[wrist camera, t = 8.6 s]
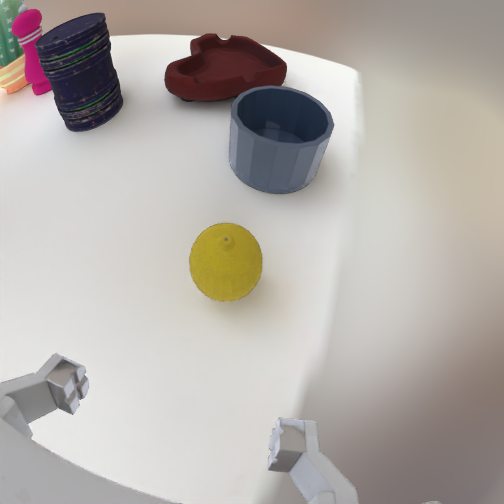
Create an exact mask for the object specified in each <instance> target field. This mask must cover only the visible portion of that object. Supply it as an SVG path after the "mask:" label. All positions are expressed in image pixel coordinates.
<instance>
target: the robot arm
mask: <svg viewBox="0 0 504 504" xmlns="http://www.w3.org/2000/svg"><path fill="white" fill-rule="evenodd" d="M85 373H86V369H85V366H83V365H80V364H78V363H76V362H74V361H72V360H70V359H68V358H66V357H64V356H61V355H59V354H57V353H56V354H53V355H52V356H51V357H50V359H49V360H48V361H47V362H46V363H45V364H44V365H43V366H42V367H41V368H40V370H39V371H38V372H37V373H36V374H35V373H31V374H28V375H25V376H21V377H18V378H15V379H12V380H8V381H5V382H1V383H0V504H182V503H178V502H174V501H170V500H166V499H163V498H160V497H156V496H153V495H150V494H147V493H144V492H141V491H138V490H135V489H132V488H129V487H126V486H124V485H121V484H118V483H116V482H113V481H111V480H109V479H106V478H104V477H101V476H99V475H97V474H95V473H92V472H90V471H88V470H86V469H84V468H82V467H80V466H78V465H76V464H74V463H72V462H70V461H68V460H66V459H64V458H62V457H61V456H59V455H57V454H55V453H53V452H52V451H50V450H48V449H46V448H45V447H43V446H41V445H40V444H38V443H37V442H35V441H33V440H32V439H30V438H31V437H32V435H33V433H32V431H31V429H30V427H29V426H28V423H30V422H32V421H34V420H36V419H38V418H40V417H42V416H44V415H46V414H48V413H50V412H52V411H54V410H56V409H57V408H59V409H61V410H63V411H66V412H68V413H70V414H72V415H73V414H74V413H75V411H76V410H77V408H78V407H79V405H80V404H79V400H81V399H83V398H85V396H86V394H87V392H88V389H89V381H88V379H87V377H86V376H85ZM269 450H270V451H271V453H270V455H269V457H268V470H269V471H277V472H287V473H289V475H290V477H291V478H292V480H293V481H294V483H295V485H296V486H297V488H298V489H299V491H300V492H301V494H302V495H303V497H304V498H305V500H306V501H307V504H359V502H358V495H357V489H356V488H355V487H354V486H353V485H352V484H351V483H350V482H349V481H348V480H347V479H346V478H345V476H344V475H343V474H342V473H341V472H340V471H339V470H338V469H337V468H336V466H335V465H334V464H333V463H332V462H331V461H330V460H329V459H328V458H327V456H326V455H325V454H324V453H320V447H319V437H318V429H317V423H316V422H315V421H308V420H299V419H289V418H278V419H277V421H276V427H275V428H273V430H272V433H271V436H270V441H269ZM421 504H442V503H440V502H438V501H429V502H425V503H421Z"/></svg>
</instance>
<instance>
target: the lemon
mask: <svg viewBox="0 0 504 504" xmlns="http://www.w3.org/2000/svg"><path fill="white" fill-rule="evenodd" d="M189 262H190V272H191V275H192V278H193V281H194V282H195V284H196V285H197V287H198V288H199V290H201V291H202V292H203V293H204V294H205V295H206V296H208V297H210V298H212V299H214V300H218V301H234V300H237V299H240V298H242V297H244V296H246V295H247V294H248V293H249V292H250V291H251V290H252V289H253V288H254V287H255V286H256V284H257V282H258V280H259V279H260V275H261V272H262V253H261V250H260V247H259V244H258V242H257V241H256V239H255V237H254V236H253V235H252V234H251V233H250V232H249V231H248V230H246V229H245V228H243V227H241V226H239V225H236V224H232V223H221V224H216V225H213V226H210V227H209V228H207V229H206V230H204V231H203V232H202V233H201V234H200V235H199V236H198V237H197V239H196V241H195V243H194V244H193V246H192V249H191V254H190V258H189Z"/></svg>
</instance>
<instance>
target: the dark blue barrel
mask: <svg viewBox="0 0 504 504" xmlns="http://www.w3.org/2000/svg"><path fill="white" fill-rule="evenodd" d="M105 20H106V18H105V14H104V13H92V14H88V15H84V16H80V17H78V18H75V19H72V20H70V21H67V22H65V23H63V24H61V25H59V26H57V27H55V28H53V29H52V30H50V31H49V32H47V33H46V34H44V35H43V36H42V37H40V38H39V39H38V40H37V41H36V43H35V48H36V51H38V57H39V62H40V65H41V68H42V69H43V71H44V72H43V73H44V75H45V77H46V78H47V79H48V80H49V82H50V85H51V87H52V90H53V92H54V95H55V96H54V100H55V103H56V105H57V108H58V111H59V113H60V115H61V116H62V118H63V120H64V122H65V125H66V127H67V128H68V129H69V130H71V131H74V132H82V131H87V130H91V129H93V128H96V127H98V126H100V125H102V124H104V123H106V122H107V121H109V120H110V119H111V118H113V117H114V116H115V115H116V114H117V113H118V112H119V110H120V109H121V107H122V105H123V98H122V95H121V90H120V83H119V79H118V77H117V72H116V70H115V69H114V67H113V63H112V58H111V54H110V50H111V42H110V40H109V37H110V36H109V31H108V29H107V24H106V22H105Z"/></svg>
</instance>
